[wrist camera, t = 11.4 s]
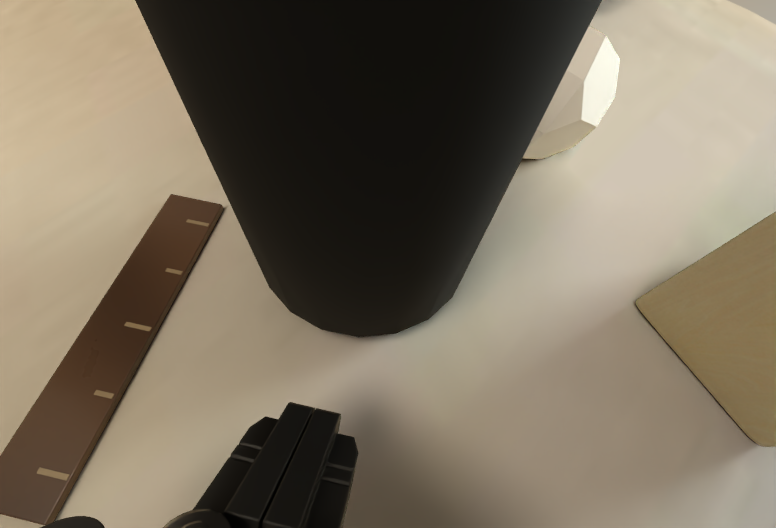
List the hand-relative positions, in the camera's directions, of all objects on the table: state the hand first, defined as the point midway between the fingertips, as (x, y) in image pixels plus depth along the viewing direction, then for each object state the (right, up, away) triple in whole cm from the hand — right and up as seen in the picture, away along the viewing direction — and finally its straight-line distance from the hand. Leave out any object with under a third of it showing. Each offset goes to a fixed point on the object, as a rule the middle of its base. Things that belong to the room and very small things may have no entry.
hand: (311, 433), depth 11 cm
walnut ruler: (-10, +2, +7) cm, 12 cm away
